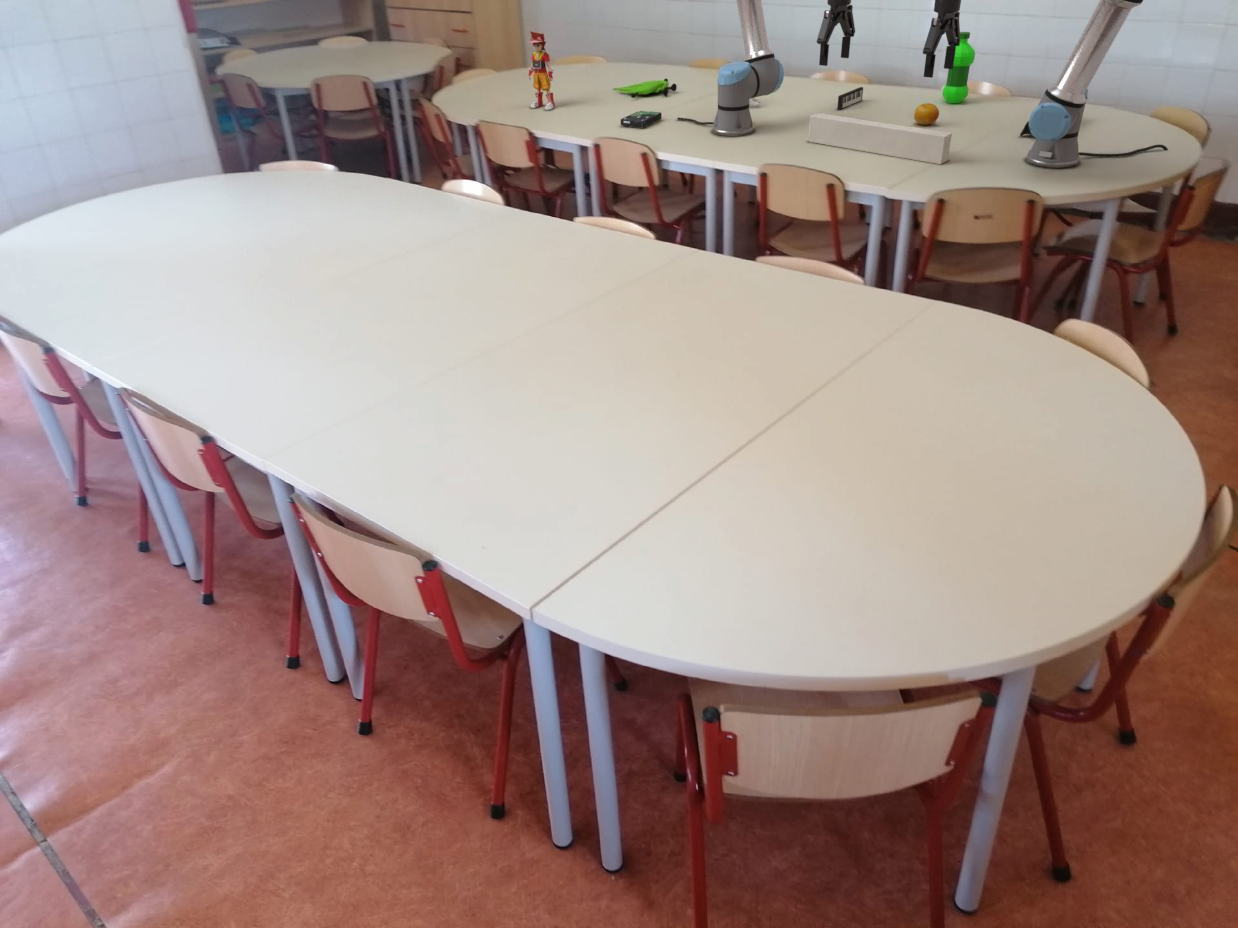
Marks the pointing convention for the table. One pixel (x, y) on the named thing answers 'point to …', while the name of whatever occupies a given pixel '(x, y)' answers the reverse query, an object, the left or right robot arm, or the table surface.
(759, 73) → the left robot arm
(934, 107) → the fruit
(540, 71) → the toy
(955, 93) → the plastic bottle
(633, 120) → the disk drive
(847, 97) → the midi keyboard
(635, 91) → the toy
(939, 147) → the bar
